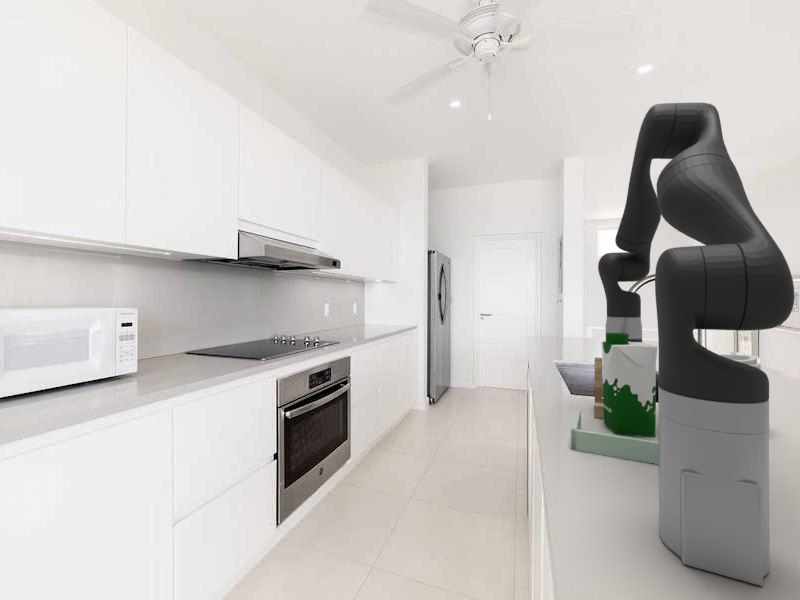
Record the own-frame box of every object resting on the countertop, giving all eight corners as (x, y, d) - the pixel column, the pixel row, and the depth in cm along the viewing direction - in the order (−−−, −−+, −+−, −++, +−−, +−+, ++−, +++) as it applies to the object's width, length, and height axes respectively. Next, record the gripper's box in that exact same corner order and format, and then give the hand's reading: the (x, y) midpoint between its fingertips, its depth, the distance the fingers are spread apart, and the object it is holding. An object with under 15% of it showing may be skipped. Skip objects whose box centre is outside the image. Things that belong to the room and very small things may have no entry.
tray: (706, 473, 57) (706, 450, 57) (571, 449, 67) (571, 430, 67) (689, 442, 69) (689, 424, 69) (576, 425, 79) (576, 409, 79)
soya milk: (598, 421, 81) (597, 331, 81) (643, 424, 80) (643, 331, 80) (612, 436, 73) (612, 335, 73) (663, 439, 71) (663, 336, 71)
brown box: (646, 425, 79) (646, 365, 79) (594, 418, 84) (593, 361, 84) (644, 416, 85) (644, 360, 85) (595, 409, 90) (595, 356, 90)
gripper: (644, 339, 80) (644, 418, 81) (640, 333, 92) (640, 402, 92) (605, 337, 84) (605, 413, 84) (605, 332, 96) (605, 398, 96)
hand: (623, 407), depth 88 cm, fingers closed
